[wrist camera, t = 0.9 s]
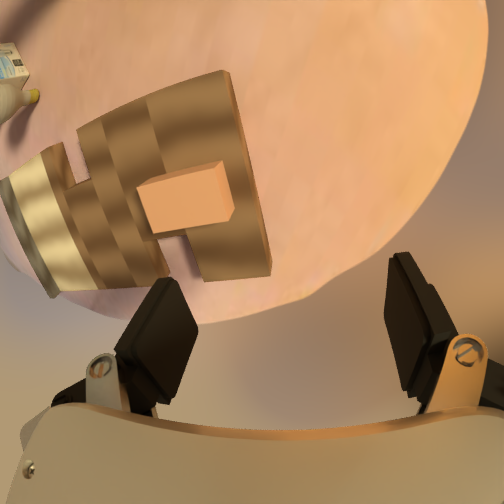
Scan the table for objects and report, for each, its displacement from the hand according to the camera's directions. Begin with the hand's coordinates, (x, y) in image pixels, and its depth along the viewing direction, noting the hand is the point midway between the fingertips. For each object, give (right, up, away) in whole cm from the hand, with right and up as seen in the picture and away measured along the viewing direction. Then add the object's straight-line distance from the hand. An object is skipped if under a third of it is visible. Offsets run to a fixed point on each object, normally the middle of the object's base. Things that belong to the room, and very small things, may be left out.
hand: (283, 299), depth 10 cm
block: (-7, +8, +17) cm, 20 cm away
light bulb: (-31, +24, +14) cm, 42 cm away
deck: (-19, +8, +22) cm, 30 cm away
